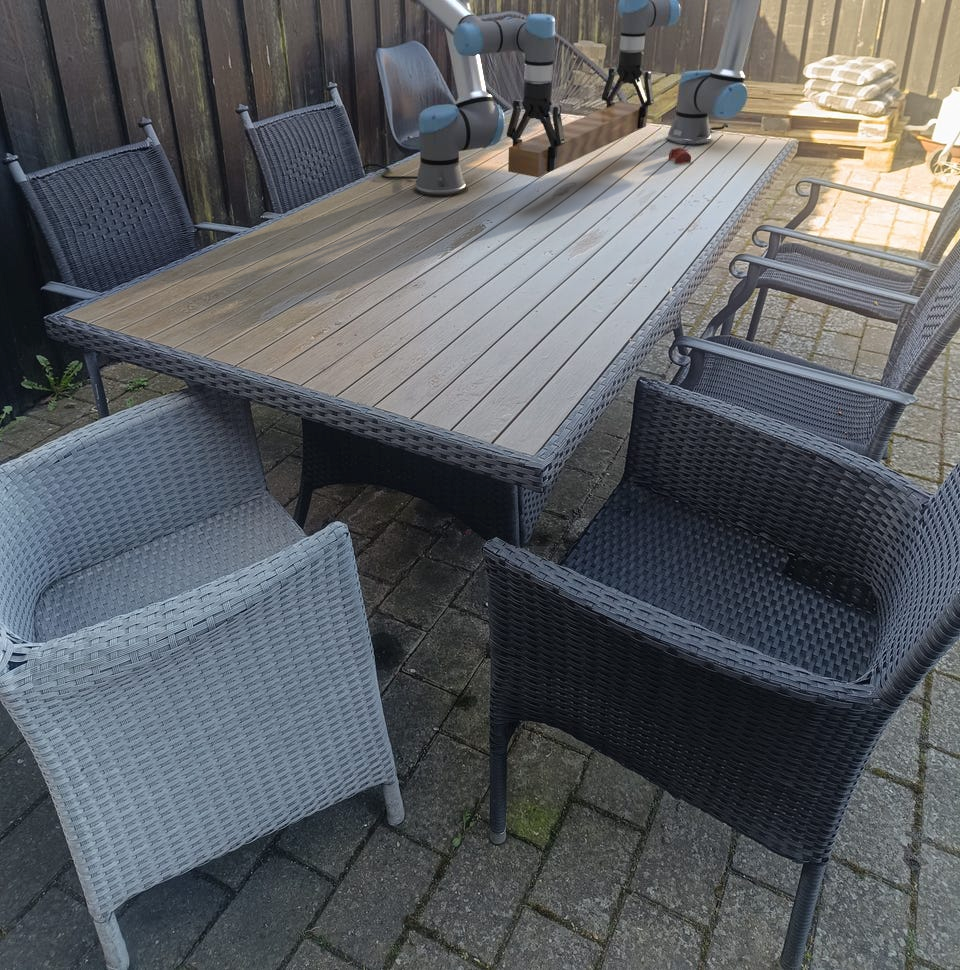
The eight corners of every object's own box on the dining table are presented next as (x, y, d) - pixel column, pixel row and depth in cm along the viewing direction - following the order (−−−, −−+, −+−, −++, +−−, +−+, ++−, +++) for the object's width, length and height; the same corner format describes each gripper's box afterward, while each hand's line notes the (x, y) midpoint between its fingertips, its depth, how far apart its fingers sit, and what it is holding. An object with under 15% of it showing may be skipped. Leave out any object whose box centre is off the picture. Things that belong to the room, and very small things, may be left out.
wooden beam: (538, 177, 231) (539, 152, 227) (508, 171, 235) (508, 147, 231) (646, 126, 279) (648, 105, 275) (619, 122, 283) (621, 101, 279)
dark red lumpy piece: (683, 144, 286) (693, 150, 280) (681, 156, 289) (692, 163, 282) (667, 145, 285) (678, 152, 279) (666, 158, 288) (676, 165, 281)
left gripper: (582, 83, 221) (575, 170, 234) (509, 73, 231) (506, 157, 244) (568, 88, 216) (562, 177, 229) (494, 78, 226) (493, 164, 239)
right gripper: (670, 51, 261) (661, 127, 274) (603, 45, 271) (598, 119, 284) (660, 55, 256) (652, 132, 269) (593, 49, 265) (589, 124, 279)
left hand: (534, 167), depth 237 cm, fingers closed on wooden beam, 10 cm apart
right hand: (625, 125), depth 276 cm, fingers closed on wooden beam, 10 cm apart
